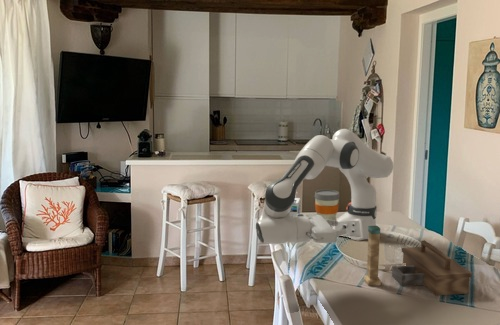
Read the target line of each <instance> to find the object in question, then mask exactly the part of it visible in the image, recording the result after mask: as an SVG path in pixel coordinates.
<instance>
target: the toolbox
mask: <svg viewBox="0 0 500 325" xmlns="http://www.w3.org/2000/svg"><path fill="white" fill-rule="evenodd" d="M401 252H402V254H403V255H402V264H403V263H406V266H403V265H395V266H392V269H391V270H392V271H391V277H392V278H393V279H394V280H395V281H396V282H397V283H398V284H399V285H400V286H401V287H407V286H408V287H409V286H421V285H422V286H424V287H425V288H426V289H428V290H429V292H431V293H432V294H433V295H434V296H447V295H448V296H449V295H463V294H469V291H470V278H473V273H472V272H471V271H470V270H468V269H467V268H466V267H464V266H463V265H461V264H460V263H458V262H457V261H456V260H454V259H452V258H451V257H450V256H448V255H446V254H445V253H444V252H443V251H441V250H440V249H438V248H437V247H435V246H434V245H432V244H430V242H427V240H420V246H411V247H410V246H409V247H407V246H406V247H401Z"/></svg>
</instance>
